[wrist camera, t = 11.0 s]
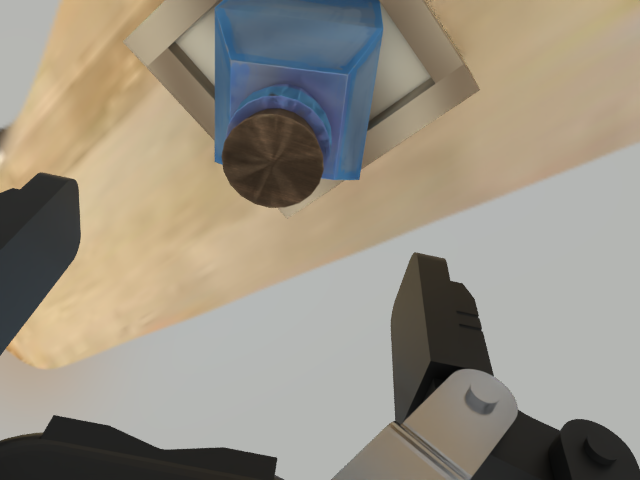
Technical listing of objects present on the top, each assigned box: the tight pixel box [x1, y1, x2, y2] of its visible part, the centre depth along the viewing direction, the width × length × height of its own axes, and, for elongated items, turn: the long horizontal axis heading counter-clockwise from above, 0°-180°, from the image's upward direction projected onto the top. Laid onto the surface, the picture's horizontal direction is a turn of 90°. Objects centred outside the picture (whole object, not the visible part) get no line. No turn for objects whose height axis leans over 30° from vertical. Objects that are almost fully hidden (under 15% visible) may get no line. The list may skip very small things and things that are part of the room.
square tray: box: [123, 0, 480, 219], centre depth 28 cm, size 12×12×5 cm
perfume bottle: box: [215, 0, 384, 208], centre depth 22 cm, size 6×6×12 cm
